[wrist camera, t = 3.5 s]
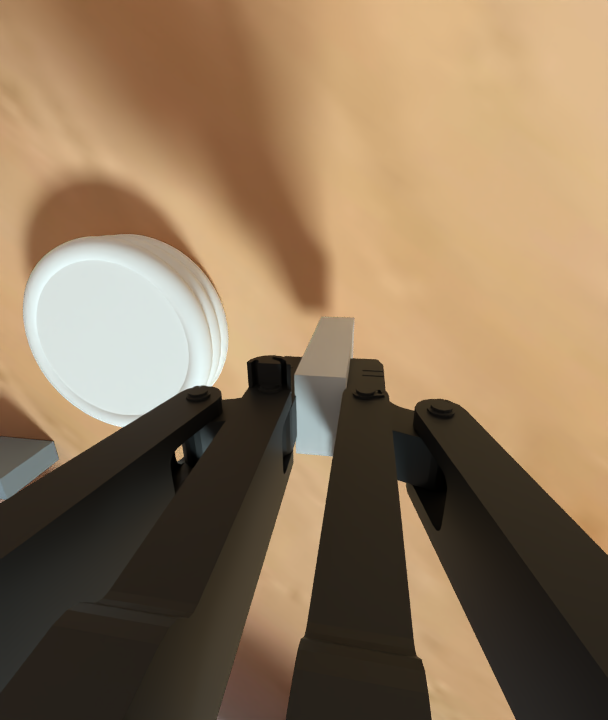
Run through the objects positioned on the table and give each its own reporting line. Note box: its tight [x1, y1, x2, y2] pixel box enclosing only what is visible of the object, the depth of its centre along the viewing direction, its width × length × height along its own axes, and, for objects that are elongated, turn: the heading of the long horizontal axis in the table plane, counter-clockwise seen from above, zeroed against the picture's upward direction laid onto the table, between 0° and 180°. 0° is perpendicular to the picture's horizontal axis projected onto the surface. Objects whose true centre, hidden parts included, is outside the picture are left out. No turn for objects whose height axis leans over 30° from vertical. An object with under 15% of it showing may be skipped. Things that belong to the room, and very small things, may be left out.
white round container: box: [23, 234, 229, 427], centre depth 19 cm, size 10×10×4 cm
